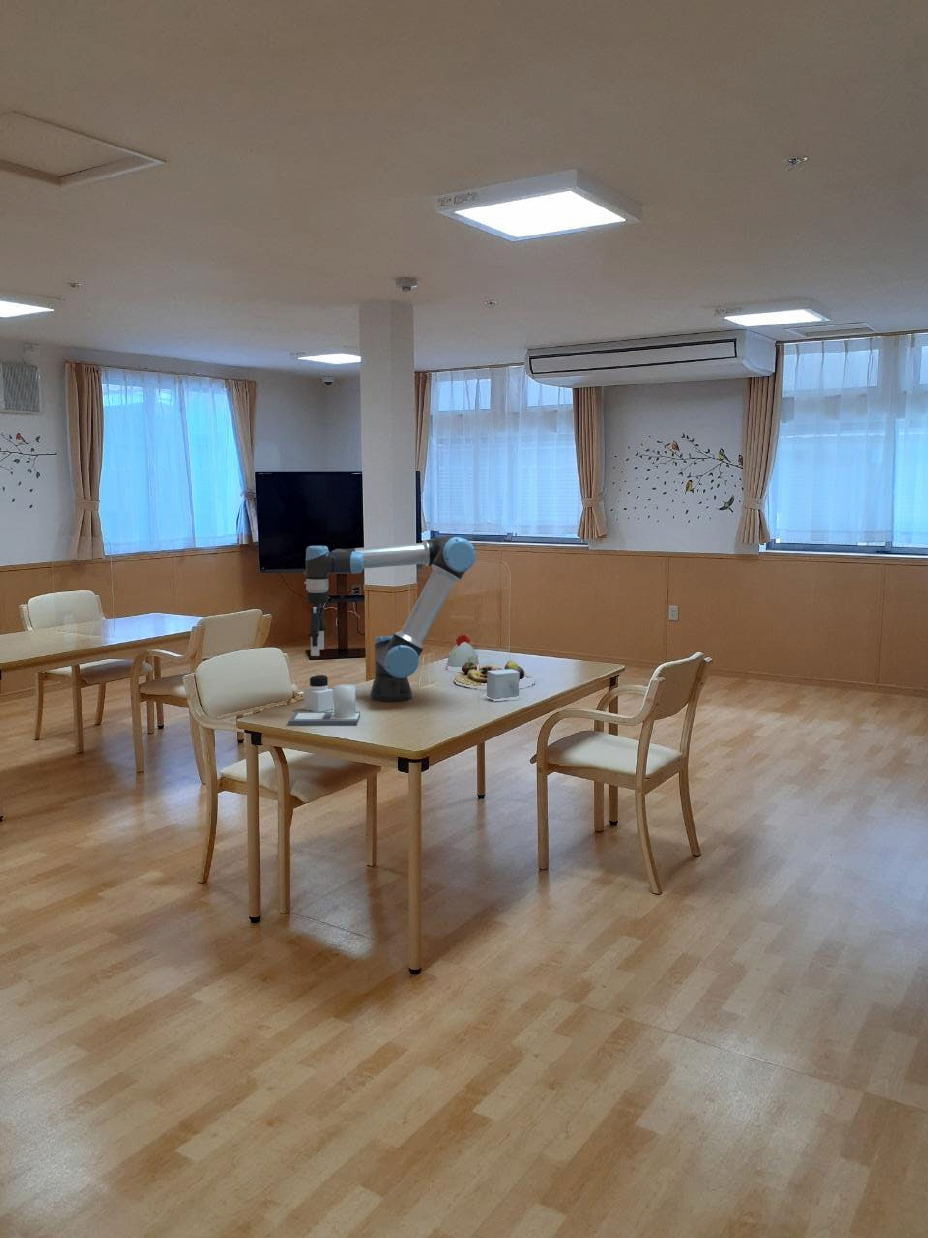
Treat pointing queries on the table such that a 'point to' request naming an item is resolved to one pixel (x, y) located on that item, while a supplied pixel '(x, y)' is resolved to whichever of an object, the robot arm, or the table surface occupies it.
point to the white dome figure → (462, 653)
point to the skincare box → (503, 683)
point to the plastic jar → (344, 701)
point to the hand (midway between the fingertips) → (317, 652)
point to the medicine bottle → (318, 694)
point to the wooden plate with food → (483, 673)
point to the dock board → (322, 719)
